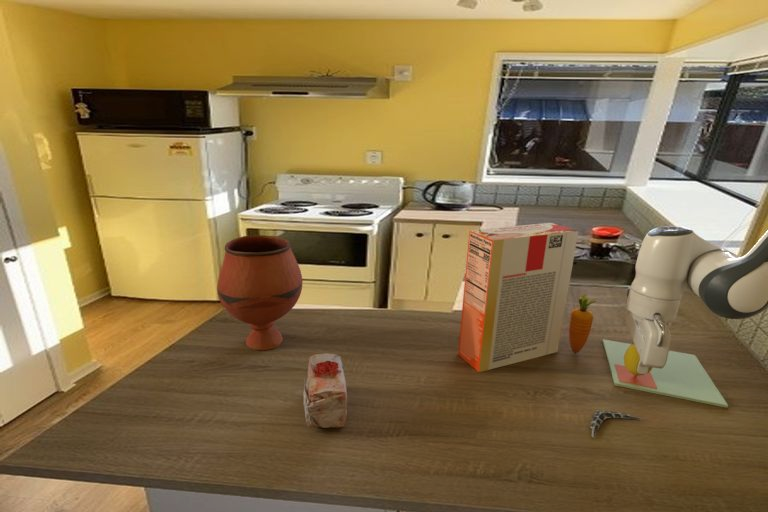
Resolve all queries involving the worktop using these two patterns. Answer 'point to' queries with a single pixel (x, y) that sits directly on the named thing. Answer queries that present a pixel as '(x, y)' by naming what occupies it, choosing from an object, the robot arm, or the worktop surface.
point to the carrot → (580, 324)
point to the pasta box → (515, 293)
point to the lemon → (633, 360)
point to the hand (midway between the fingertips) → (637, 363)
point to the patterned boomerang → (602, 415)
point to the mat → (666, 376)
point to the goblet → (259, 285)
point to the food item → (325, 392)
